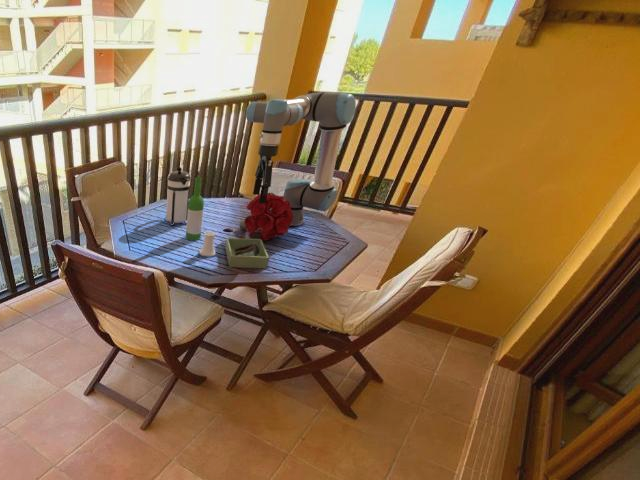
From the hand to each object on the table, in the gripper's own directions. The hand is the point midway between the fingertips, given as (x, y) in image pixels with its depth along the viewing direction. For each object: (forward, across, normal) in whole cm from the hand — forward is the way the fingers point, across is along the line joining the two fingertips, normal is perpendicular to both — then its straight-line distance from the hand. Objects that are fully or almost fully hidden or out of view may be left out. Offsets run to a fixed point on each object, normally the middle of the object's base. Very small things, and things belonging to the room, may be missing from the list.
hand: (258, 198), depth 167 cm
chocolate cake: (+27, 0, -1) cm, 27 cm away
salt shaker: (+26, -58, +16) cm, 65 cm away
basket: (+28, 0, -1) cm, 28 cm away
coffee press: (+28, -48, -34) cm, 65 cm away
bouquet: (+27, -28, +12) cm, 41 cm away
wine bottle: (+28, -24, -24) cm, 44 cm away
